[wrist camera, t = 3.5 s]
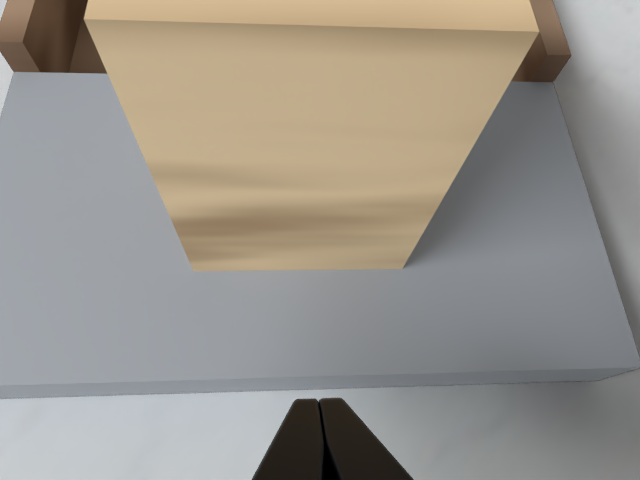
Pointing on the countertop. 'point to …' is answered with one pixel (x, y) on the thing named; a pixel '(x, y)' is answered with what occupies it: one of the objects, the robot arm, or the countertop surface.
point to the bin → (82, 57)
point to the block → (307, 117)
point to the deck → (292, 271)
